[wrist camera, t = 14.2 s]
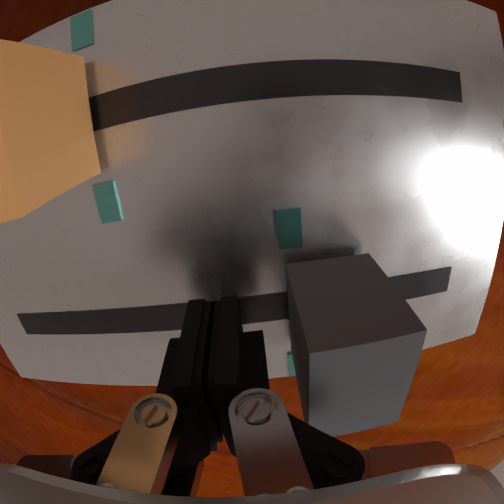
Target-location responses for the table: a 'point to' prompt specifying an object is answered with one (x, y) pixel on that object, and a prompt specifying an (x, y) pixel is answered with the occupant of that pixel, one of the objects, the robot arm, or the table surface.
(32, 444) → the table surface
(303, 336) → the fader
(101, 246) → the console
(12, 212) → the fader
